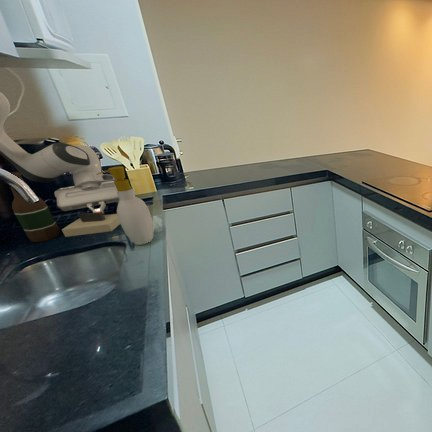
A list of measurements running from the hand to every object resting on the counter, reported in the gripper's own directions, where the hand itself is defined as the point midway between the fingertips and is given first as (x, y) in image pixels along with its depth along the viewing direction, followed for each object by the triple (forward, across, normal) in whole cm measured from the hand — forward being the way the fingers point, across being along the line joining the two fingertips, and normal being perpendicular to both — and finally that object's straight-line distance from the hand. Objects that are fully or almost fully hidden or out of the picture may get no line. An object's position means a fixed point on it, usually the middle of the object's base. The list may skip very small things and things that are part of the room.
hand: (98, 213), depth 113 cm
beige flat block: (+4, -2, +3) cm, 5 cm away
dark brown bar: (+2, -2, 0) cm, 3 cm away
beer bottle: (+4, -16, +4) cm, 17 cm away
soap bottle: (+22, +12, -15) cm, 29 cm away
